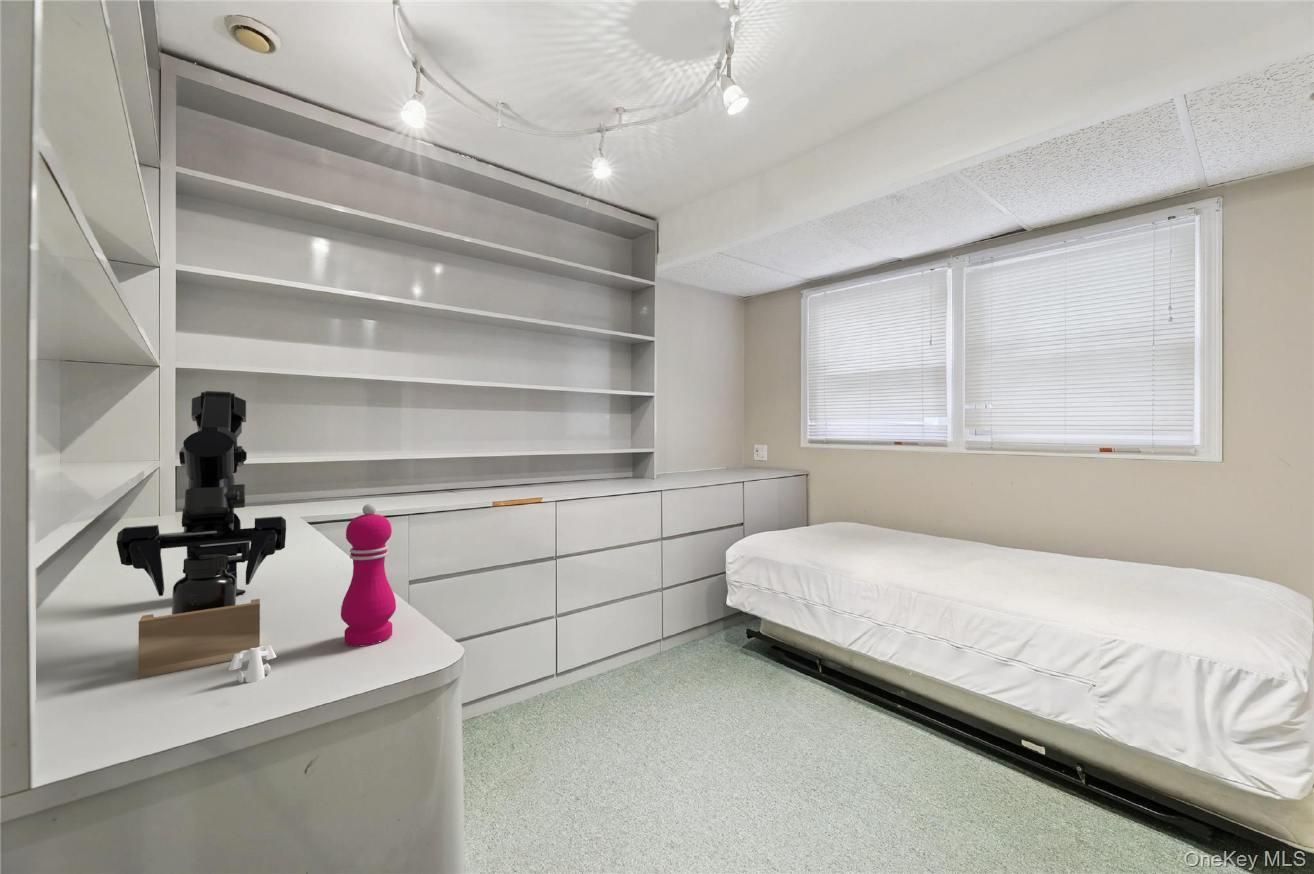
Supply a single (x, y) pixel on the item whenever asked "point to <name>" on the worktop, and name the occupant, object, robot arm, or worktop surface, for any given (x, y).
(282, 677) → the worktop surface
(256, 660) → the clip
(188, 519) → the robot arm
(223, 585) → the supplement bottle
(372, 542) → the pepper mill
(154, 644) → the holder
